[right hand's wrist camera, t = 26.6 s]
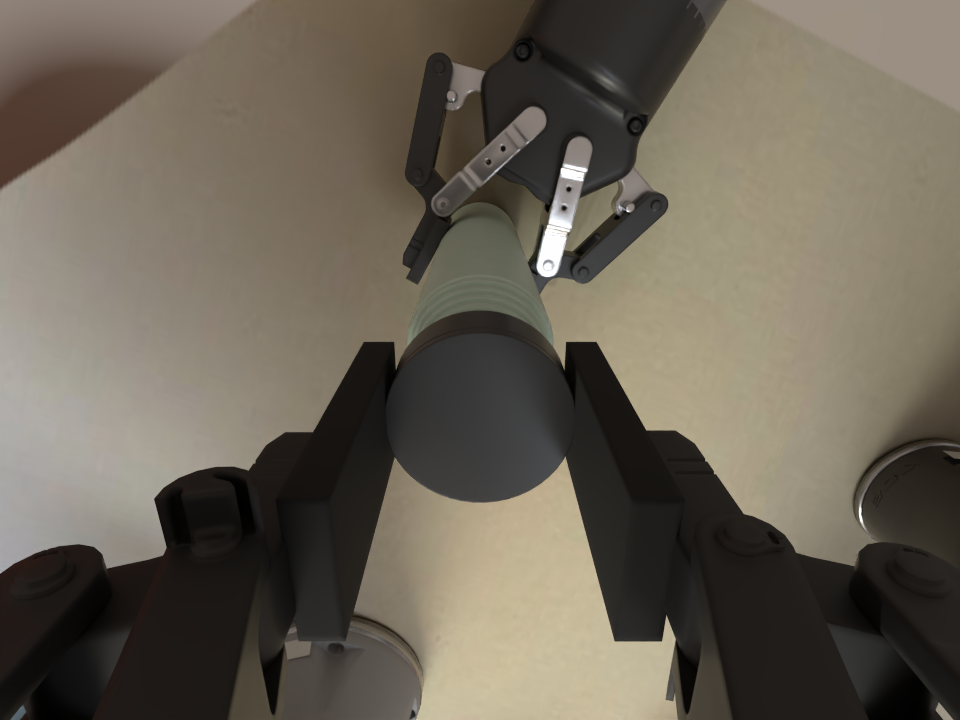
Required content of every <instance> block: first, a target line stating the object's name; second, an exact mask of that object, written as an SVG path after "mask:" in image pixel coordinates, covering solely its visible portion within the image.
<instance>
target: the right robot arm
mask: <svg viewBox="0 0 960 720" xmlns="http://www.w3.org/2000/svg"><path fill="white" fill-rule="evenodd" d="M395 372H396V365H395V349H394V342H364V343H363V345H362V346H361V348H360V350H359V352H358V354H357V355H356V357H355V359H354V361H353V362H352V364H351V366H350V368H349V370H348V371H347V373H346V375H345V377H344V378H343V380H342V382H341V384H340V386H339V387H338V389H337V391H336V393H335V394H334V396H333V398H332V400H331V402H330V403H329V405H328V407H327V409H326V410H325V412H324V414H323V416H322V417H321V419H320V421H319V423H318V425H317V426H316V428H315V430H314V432H285V433H284V434H282V435H281V436H279V437H278V438H276V439H275V440H273V441H272V442H270V443H269V444H267V445H266V446H265V448H264V449H263V451H262V452H261V454H260V455H259V456H258V458H257V459H256V463H255V464H253V465H252V467H251V468H250V469H249V471H248V470H244V469H241V468H237V467H214V468H209V469H204V470H199V471H196V472H193V473H191V474H188V475H185V476H183V477H180V478H178V479H177V480H175V481H174V482H172V483H170V484H169V485H167V486H166V487H164V488H163V489H162V490H161V492H160V493H159V494H158V495H157V496H156V497H155V499H154V500H155V504H156V508H157V511H158V515H159V519H160V523H161V527H162V531H163V535H164V538H165V542H166V546H167V548H166V551H165V553H164V555H163V556H160V557H157V558H153V559H150V560H145V561H141V562H136V563H131V564H126V565H122V566H117V567H112V568H108V569H107V568H106V565H105V562H104V559H103V555H102V554H101V553H100V552H99V551H98V550H97V549H96V548H94V547H91V546H85V545H80V544H77V545H68V546H59V547H55V548H51V549H48V550H44V551H41V552H38V553H35V554H33V555H32V556H30V557H27V558H25V559H23V560H21V561H19V562H17V563H15V564H13V565H12V566H11V567H9V568H8V569H6V570H5V571H4V572H2V573H1V574H0V720H416V718H417V715H418V712H419V709H420V705H421V697H422V688H423V675H422V670H421V667H420V664H419V662H418V659H417V658H416V656H415V654H414V653H413V651H412V650H411V649H410V647H409V646H408V645H407V644H406V643H405V642H404V641H403V640H402V639H400V638H399V637H398V636H397V635H395V634H394V633H393V632H391V631H389V630H388V629H386V628H384V627H382V626H380V625H378V624H376V623H373V622H371V621H368V620H365V619H361V618H357V617H353V616H352V615H353V612H354V608H355V604H356V600H357V596H358V593H359V589H360V585H361V581H362V578H363V574H364V570H365V566H366V563H367V559H368V555H369V551H370V548H371V544H372V540H373V536H374V533H375V529H376V525H377V521H378V517H379V514H380V510H381V506H382V502H383V499H384V495H385V491H386V487H387V484H388V480H389V476H390V472H391V469H392V465H393V461H394V457H395V456H394V454H393V452H392V450H391V448H390V445H389V442H388V437H387V423H386V408H385V403H386V399H387V395H388V391H389V389H390V386H391V383H392V380H393V377H394V375H395ZM565 374H566V377H567V380H568V382H569V385H570V388H571V391H572V394H573V397H574V401H575V414H574V429H573V441H572V443H571V446H570V448H569V451H568V452H567V454H566V460H567V463H568V467H569V471H570V475H571V479H572V482H573V486H574V490H575V494H576V497H577V501H578V505H579V509H580V512H581V516H582V520H583V524H584V527H585V531H586V535H587V539H588V542H589V546H590V550H591V554H592V558H593V561H594V565H595V569H596V573H597V576H598V580H599V584H600V588H601V591H602V595H603V599H604V603H605V606H606V610H607V614H608V618H609V621H610V625H611V629H612V633H613V636H614V640H615V641H662V638H663V632H664V626H665V620H666V615H667V617H668V620H669V622H670V625H671V628H672V630H673V633H674V635H675V638H676V641H675V647H674V653H673V659H672V664H671V670H670V676H669V681H668V687H667V694H666V700H670V701H673V699H674V694H675V697H676V706H677V715H678V720H943V719H942V718H941V716H940V715H939V714H938V713H937V712H936V707H937V705H938V703H940V704H941V705H942V706H943V708H944V709H945V710H946V711H947V712H948V714H949V715H950V716H951V717H952V718H953V720H960V570H959V569H957V568H956V567H955V566H953V565H952V564H950V563H949V562H947V561H945V560H943V559H941V558H939V557H937V556H935V555H933V554H931V553H929V552H927V551H925V550H922V549H919V548H914V547H913V546H908V545H904V544H898V543H888V542H879V543H873V544H868V545H866V546H865V547H864V548H863V549H862V550H861V551H859V554H858V557H857V560H856V563H855V566H850V565H845V564H841V563H836V562H831V561H827V560H822V559H817V558H812V557H809V556H805V555H802V554H798V553H796V552H795V550H794V547H793V546H792V544H791V543H790V542H789V540H788V539H787V538H786V536H785V535H784V534H783V533H781V532H780V531H779V530H777V529H776V528H775V527H773V526H772V525H771V524H769V523H766V522H764V521H762V520H760V519H757V518H755V517H753V516H749V515H745V514H743V512H742V511H741V510H740V508H739V507H738V505H737V504H736V502H735V501H734V499H733V498H732V497H731V495H730V494H729V492H728V491H727V489H726V488H725V487H724V485H723V484H722V482H721V481H720V479H719V478H718V476H717V475H716V474H714V471H713V469H712V468H711V466H710V465H709V464H708V462H705V458H704V456H703V455H702V454H701V452H700V451H699V449H698V448H697V446H696V445H695V444H694V443H693V442H692V441H690V440H689V439H687V438H686V437H684V436H683V435H681V434H680V433H678V432H677V431H646V429H645V427H644V426H643V424H642V422H641V420H640V419H639V417H638V415H637V413H636V411H635V410H634V408H633V406H632V404H631V403H630V401H629V399H628V397H627V395H626V394H625V392H624V390H623V388H622V387H621V385H620V383H619V381H618V380H617V378H616V376H615V374H614V372H613V371H612V369H611V367H610V365H609V364H608V362H607V360H606V358H605V356H604V355H603V353H602V351H601V349H600V348H599V346H598V344H597V342H566V355H565ZM294 617H295V620H293V618H294Z"/></svg>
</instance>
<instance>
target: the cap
mask: <svg viewBox="0 0 960 720" xmlns="http://www.w3.org/2000/svg"><path fill="white" fill-rule="evenodd" d="M385 408H386V423H387V437H388V442H389V445H390V448H391V450H392V452H393V454H394V456H395V457H396V459H397V460H398V462H399V463H400V465H401V466H402V467H403V469H404V470H405V471H406V472H407V473H408V474H409V475H410V476H411V477H412V478H413V479H415V480H416V481H417V482H418V483H420V484H421V485H423V486H424V487H426V488H427V489H429V490H431V491H433V492H435V493H437V494H439V495H442V496H445V497H447V498H450V499H455V500H459V501H465V502H474V503H486V502H496V501H501V500H506V499H510V498H513V497H516V496H519V495H521V494H523V493H525V492H528V491H530V490H531V489H533V488H535V487H536V486H538V485H539V484H541V483H542V482H543V481H544V480H546V479H547V478H548V477H549V476H550V475H551V474H552V473H553V472H554V471H555V470H556V469H557V468H558V466H559V465H560V464H561V462H562V461H563V460H564V458H565V456H566V454H567V452H568V451H569V448H570V446H571V443H572V441H573V429H574V414H575V401H574V397H573V394H572V391H571V388H570V385H569V382H568V380H567V377H566V374H565V371H564V368H563V366H562V363H561V360H560V358H559V356H558V354H557V352H556V351H555V349H554V348H553V346H552V345H551V344H550V342H549V341H548V340H547V339H546V338H545V337H544V336H543V335H542V334H541V333H540V332H539V331H538V330H536V329H535V328H534V327H533V326H531V325H530V324H528V323H526V322H524V321H523V320H521V319H518V318H516V317H513V316H511V315H508V314H504V313H500V312H494V311H483V310H475V311H466V312H460V313H456V314H452V315H450V316H447V317H444V318H442V319H440V320H438V321H436V322H434V323H432V324H431V325H429V326H428V327H427V328H425V329H424V330H422V331H421V332H420V333H419V334H418V335H417V336H416V337H415V338H414V339H413V340H412V341H411V343H410V344H409V345H408V347H407V348H406V350H405V351H404V353H403V355H402V356H401V359H400V361H399V364H398V366H397V369H396V372H395V375H394V377H393V380H392V383H391V386H390V389H389V391H388V395H387V399H386V403H385Z"/></svg>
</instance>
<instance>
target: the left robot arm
mask: <svg viewBox="0 0 960 720" xmlns="http://www.w3.org/2000/svg"><path fill="white" fill-rule="evenodd" d="M726 1H727V0H535V1H534V3H533V5H532V7H531V9H530V11H529V13H528V15H527V17H526V19H525V20H524V22H523V24H522V26H521V28H520V30H519V32H518V34H517V36H516V38H515V40H514V42H513V43H512V45H511V47H510V49H509V51H508V52H507V53H506V54H505V55H504V56H503V57H502V58H501V59H500V60H499V61H497V62H496V63H494V64H493V65H491V66H490V67H489V68H488V69H487V70H486V71H483V70H479V69H476V68H473V67H469V66H466V65H462V64H459V63H455V62H452V61H451V60H450V58H449V57H448V56H447V55H445V54H444V53H434V54H432V55H431V56H430V57H429V59H428V60H427V63H426V68H425V73H424V79H423V84H422V89H421V94H420V99H419V104H418V109H417V114H416V119H415V124H414V129H413V134H412V139H411V144H410V149H409V154H408V159H407V164H406V169H405V176H406V179H407V181H408V182H409V183H410V184H411V185H413V186H414V187H415V188H416V189H417V191H418V192H419V193H420V194H421V195H422V196H423V198H424V200H425V202H426V211H425V214H424V216H423V218H422V220H421V222H420V224H419V226H418V228H417V229H416V231H415V233H414V235H413V237H412V239H411V241H410V243H409V245H408V247H407V249H406V250H405V252H404V255H403V265H405V266H407V267H409V268H411V270H410V272H409V274H408V276H407V278H406V279H408V280H410V281H412V282H414V283H415V284H417V285H418V283H419V281H420V279H421V278H422V276H423V274H424V272H425V270H426V268H427V267H428V265H429V263H430V261H431V259H432V257H433V256H434V254H435V252H436V250H437V248H438V246H439V244H440V242H441V240H442V239H443V237H444V235H445V234H446V232H447V230H448V228H449V226H450V224H451V221H452V218H451V217H450V216H451V215H452V213H453V212H454V211H455V210H456V209H457V208H458V207H459V206H460V205H461V204H462V203H464V202H465V201H466V200H467V199H468V198H469V197H470V196H471V195H472V194H473V193H474V192H475V191H477V190H478V189H479V188H480V187H482V186H483V185H484V184H485V183H486V182H487V181H488V180H489V179H490V178H491V177H492V176H494V175H495V174H498V175H500V176H501V177H503V178H505V179H506V180H508V181H510V182H514V183H517V184H521V185H524V186H526V187H527V188H528V189H529V190H530V191H531V192H532V194H533V195H534V196H535V197H536V198H538V199H539V200H541V201H543V202H544V204H543V208H542V212H541V217H540V226H539V230H538V234H537V239H536V243H535V247H534V251H533V255H532V256H531V258H530V260H529V261H528V265H529V268H530V270H531V273H532V276H533V278H534V281H535V284H536V286H537V289H538V292H539V294H540V293H541V291H542V290H543V288H544V287H545V285H546V284H547V282H548V281H550V280H551V279H553V278H557V277H561V278H567V279H573V280H575V281H576V282H578V283H581V284H584V283H588V282H589V281H591V280H592V279H593V278H594V277H595V276H596V275H597V274H599V273H600V272H601V271H602V270H603V269H604V268H605V267H606V266H607V265H608V264H610V263H611V262H612V261H613V260H614V259H615V258H616V257H617V256H618V255H619V254H621V253H622V252H623V251H624V250H625V249H626V248H627V247H628V246H629V245H630V244H632V243H633V242H634V241H635V240H636V239H637V238H638V237H639V236H640V235H641V234H643V233H644V232H645V231H646V230H647V229H648V228H649V227H650V226H651V225H652V224H654V223H655V222H656V221H657V220H658V219H659V218H660V217H661V216H662V215H663V214H664V213H665V212H666V210H667V208H668V200H667V198H666V197H665V196H664V195H663V194H660V193H658V192H656V191H654V190H653V189H652V188H651V187H650V186H649V184H648V183H647V182H646V181H645V180H644V178H643V177H642V176H641V175H640V174H639V173H638V171H637V170H636V169H635V168H634V164H635V161H636V155H637V147H638V143H639V140H640V138H641V136H642V134H643V132H644V130H645V129H646V127H647V126H648V124H649V123H650V121H651V119H652V118H653V116H654V115H655V113H656V111H657V110H658V108H659V107H660V105H661V104H662V102H663V100H664V99H665V97H666V96H667V94H668V92H669V91H670V89H671V88H672V86H673V85H674V83H675V81H676V80H677V78H678V77H679V75H680V73H681V72H682V70H683V69H684V67H685V66H686V64H687V62H688V61H689V59H690V58H691V56H692V54H693V53H694V51H695V50H696V48H697V47H698V45H699V43H700V42H701V40H702V39H703V37H704V35H705V34H706V32H707V31H708V29H709V28H710V26H711V24H712V23H713V21H714V20H715V18H716V16H717V15H718V13H719V12H720V10H721V9H722V7H723V5H724V4H725V2H726ZM472 93H481V103H482V114H483V124H484V134H485V145H486V146H485V147H484V148H482V149H481V150H480V151H479V152H478V153H477V154H476V155H475V156H474V157H473V158H472V159H471V160H470V161H469V162H468V163H467V164H466V165H465V166H464V167H463V168H462V169H461V170H460V171H459V172H457V173H456V174H455V175H454V176H453V177H452V178H451V179H450V180H449V181H448V182H447V183H446V182H445V181H444V180H443V179H442V178H441V176H440V175H439V174H438V173H437V171H436V170H435V169H434V168H435V163H436V159H437V154H438V150H439V145H440V140H441V136H442V131H443V126H444V122H445V117H446V113H447V110H448V111H457V110H459V109H461V108H462V106H463V105H464V102H465V100H466V98H467V97H468V96H469V95H470V94H472ZM487 160H489V162H486V161H487ZM614 182H618V186H619V188H618V192H617V194H616V196H615V197H614V198H613V200H612V203H611V208H612V210H613V212H614V213H613V214H612V215H611V216H610V217H609V218H608V219H607V220H606V221H605V222H604V223H603V224H601V225H600V226H599V227H598V228H597V229H596V230H595V231H594V232H593V233H592V234H591V235H590V236H589V237H588V238H587V239H585V240H584V241H583V242H582V243H581V244H580V245H579V246H578V247H577V248H576V249H575V250H574V251H573V252H571V251H565V250H564V248H565V244H566V240H567V237H568V235H569V233H570V231H571V228H572V224H573V221H574V217H575V213H576V209H577V205H578V201H579V198H581V197H583V196H586V195H588V194H590V193H592V192H594V191H597V190H599V189H601V188H603V187H605V186H608V185H610V184H612V183H614ZM854 511H855V516H856V518H857V521H858V523H859V524H860V526H861V527H862V528H863V529H864V530H865V531H866V533H867V534H868V535H869V536H870V537H872V538H873V539H874V540H876V541H877V542H878V543H879V542H888V543H898V544H904V545H908V546H913V547H914V548H919V549H922V550H925V551H927V552H929V553H931V554H933V555H935V556H937V557H939V558H941V559H943V560H945V561H947V562H949V563H950V564H952V565H953V566H955V567H956V568H957V569H959V570H960V443H957V442H954V441H950V440H943V439H930V440H923V441H918V442H914V443H911V444H908V445H905V446H903V447H900V448H898V449H896V450H894V451H892V452H891V453H889V454H887V455H886V456H885V457H883V458H882V459H881V460H879V461H878V462H877V463H876V464H875V465H874V466H873V467H872V468H871V469H870V470H869V471H868V472H867V474H866V475H865V476H864V478H863V479H862V481H861V483H860V485H859V487H858V489H857V492H856V495H855V500H854Z"/></svg>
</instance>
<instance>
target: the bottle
mask: <svg viewBox="0 0 960 720" xmlns="http://www.w3.org/2000/svg"><path fill="white" fill-rule="evenodd" d="M451 218H452V221H451V224H450V226H449V228H448V230H447V232H446V234H445V235H444V237H443V239H442V240H441V242H440V244H439V247H438V249H437V252H436V255H435V257H434V260H433V263H432V265H431V268H430V271H429V273H428V276H427V279H426V281H425V284H424V287H423V289H422V292H421V295H420V297H419V300H418V303H417V305H416V308H415V311H414V313H413V316H412V319H411V321H410V325H409V329H408V335H407V347H408V345H409V344H410V343H411V341H412V340H413V339H414V338H415V337H416V336H417V335H418V334H419V333H420V332H421V331H422V330H424V329H425V328H427V327H428V326H429V325H431V324H432V323H434V322H436V321H438V320H440V319H442V318H444V317H447V316H450V315H452V314H456V313H460V312H466V311H475V310H483V311H494V312H500V313H504V314H508V315H511V316H513V317H516V318H518V319H521V320H523V321H524V322H526V323H528V324H530V325H531V326H533V327H534V328H535V329H536V330H538V331H539V332H540V333H541V334H542V335H543V336H544V337H545V338H546V339H547V340H548V341H549V342H550V344H551V345H552V346H553V333H552V328H551V324H550V321H549V318H548V316H547V313H546V310H545V308H544V305H543V302H542V300H541V297H540V294H539V292H538V289H537V286H536V284H535V281H534V278H533V276H532V273H531V270H530V268H529V265H528V262H527V260H526V257H525V254H524V252H523V249H522V246H521V244H520V241H519V239H518V236H517V233H516V231H515V228H514V225H513V223H512V221H511V219H510V218H509V216H508V215H507V214H506V213H505V212H504V211H503V210H502V209H500V208H499V207H497V206H495V205H492V204H489V203H484V202H477V203H471V204H468V205H465V206H463V207H462V208H460V209H459V210H457V211H456V212H455V213H454V214H453V215H452V217H451Z"/></svg>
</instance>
